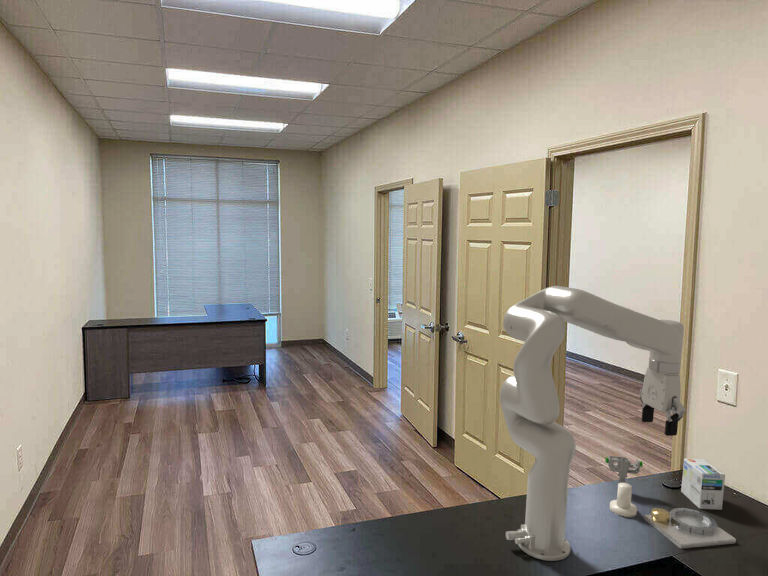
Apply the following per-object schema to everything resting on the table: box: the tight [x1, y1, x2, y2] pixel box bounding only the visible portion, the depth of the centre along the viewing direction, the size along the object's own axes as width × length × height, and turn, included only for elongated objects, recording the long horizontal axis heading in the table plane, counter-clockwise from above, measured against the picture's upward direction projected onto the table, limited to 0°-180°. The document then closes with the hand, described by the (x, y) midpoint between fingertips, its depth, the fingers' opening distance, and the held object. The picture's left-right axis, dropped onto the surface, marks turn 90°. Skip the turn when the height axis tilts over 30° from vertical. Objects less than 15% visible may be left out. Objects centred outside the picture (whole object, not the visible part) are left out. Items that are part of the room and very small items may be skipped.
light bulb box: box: [680, 458, 726, 511], centre depth 163 cm, size 11×7×11 cm, turn 179°
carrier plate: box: [643, 507, 737, 549], centre depth 146 cm, size 16×14×3 cm
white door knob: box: [609, 482, 638, 518], centre depth 156 cm, size 7×7×8 cm
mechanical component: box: [604, 455, 643, 484], centre depth 167 cm, size 3×10×10 cm, turn 78°
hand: (658, 428), depth 149 cm, fingers open, 9 cm apart
